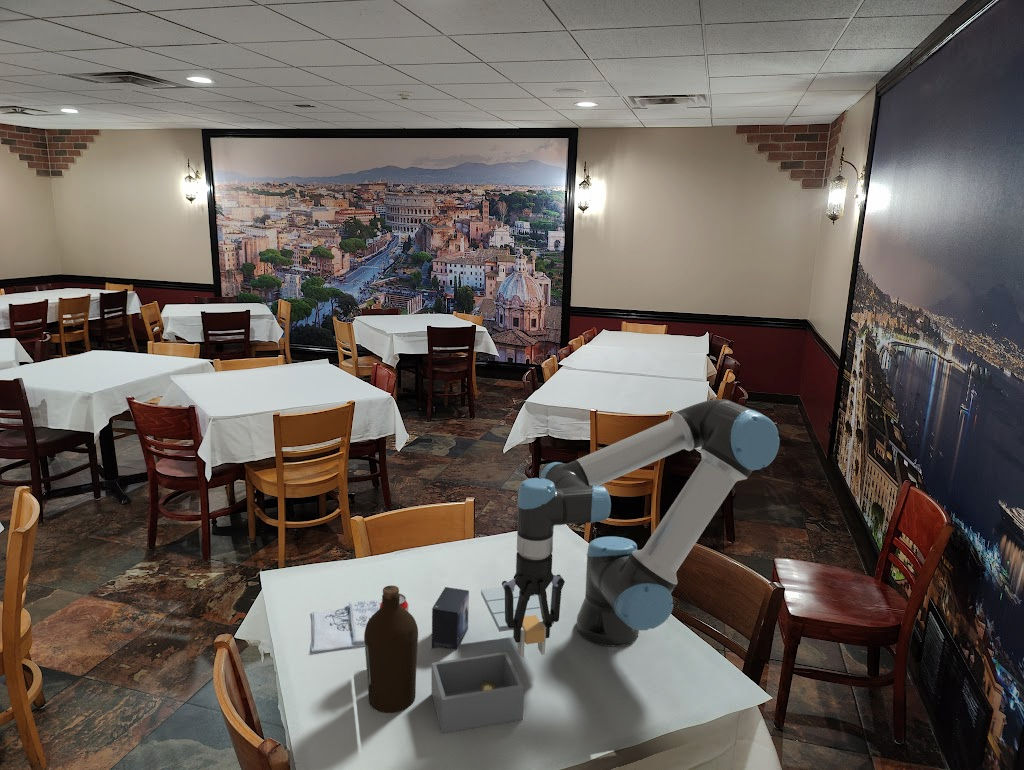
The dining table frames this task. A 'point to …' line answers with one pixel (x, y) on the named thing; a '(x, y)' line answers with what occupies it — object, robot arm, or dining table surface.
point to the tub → (476, 692)
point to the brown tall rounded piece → (391, 655)
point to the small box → (450, 618)
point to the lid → (497, 610)
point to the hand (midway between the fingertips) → (531, 652)
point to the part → (488, 685)
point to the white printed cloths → (342, 626)
